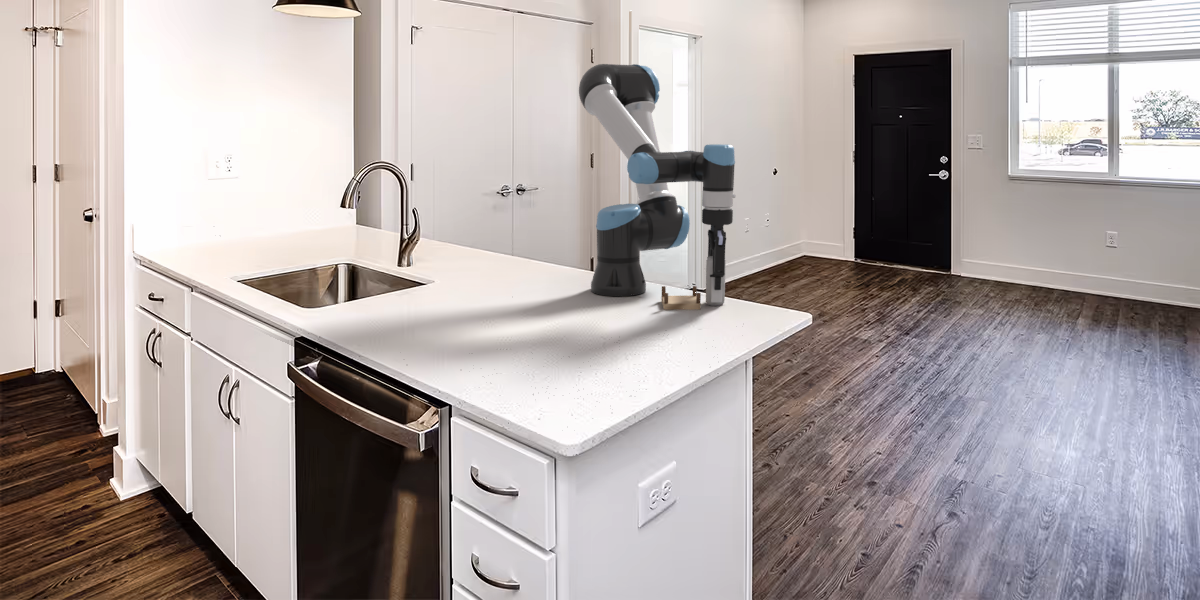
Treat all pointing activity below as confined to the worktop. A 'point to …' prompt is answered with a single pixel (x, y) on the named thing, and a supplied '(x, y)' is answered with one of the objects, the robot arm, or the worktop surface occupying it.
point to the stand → (681, 301)
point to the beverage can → (709, 280)
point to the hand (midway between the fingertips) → (714, 299)
